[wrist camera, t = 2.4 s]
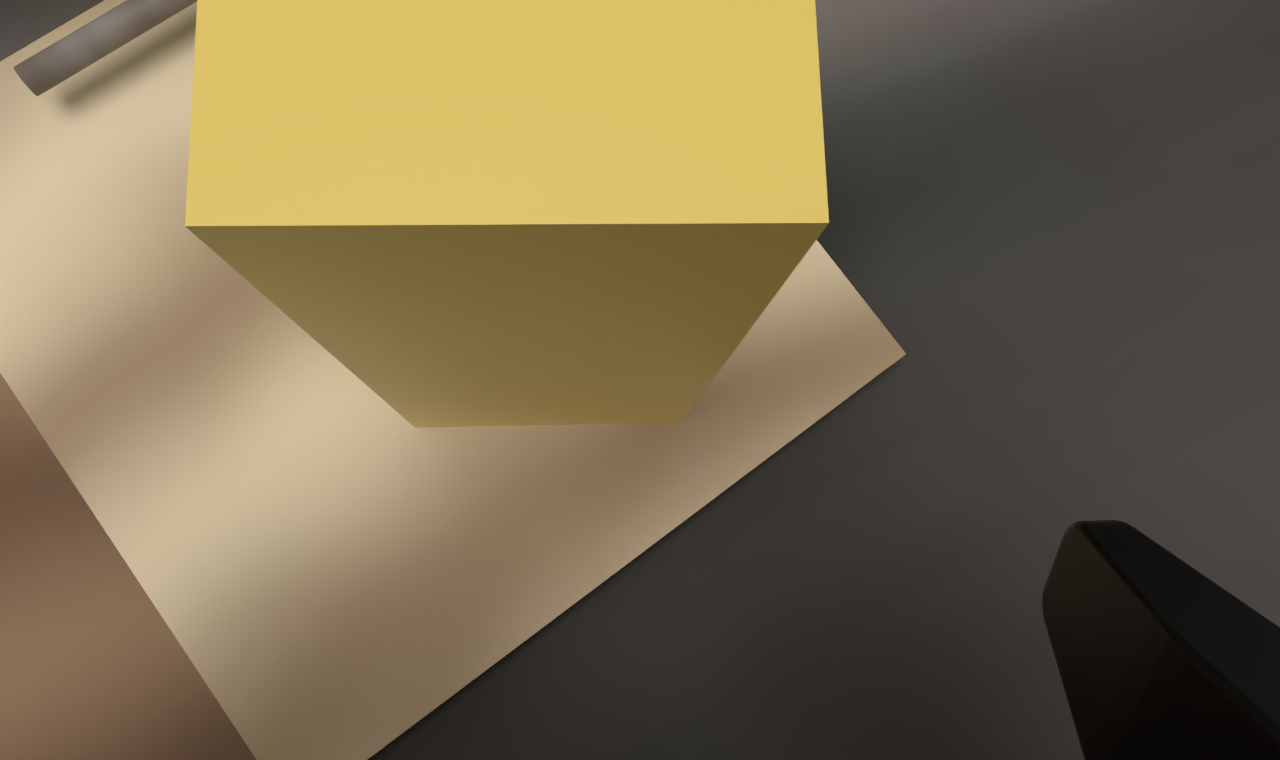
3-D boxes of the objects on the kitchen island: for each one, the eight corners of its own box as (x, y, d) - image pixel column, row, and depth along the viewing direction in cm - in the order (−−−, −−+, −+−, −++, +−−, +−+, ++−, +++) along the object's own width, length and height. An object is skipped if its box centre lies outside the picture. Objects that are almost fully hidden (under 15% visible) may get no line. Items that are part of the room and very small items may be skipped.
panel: (893, 361, 21) (905, 353, 20) (-45, 1068, 17) (-74, 1091, 17) (467, -183, 22) (463, -211, 22) (-465, 369, 19) (-510, 360, 18)
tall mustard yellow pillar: (680, 422, 19) (829, 221, 8) (414, 427, 19) (185, 225, 8) (672, 166, 20) (794, -333, 9) (417, 166, 20) (216, -350, 9)
